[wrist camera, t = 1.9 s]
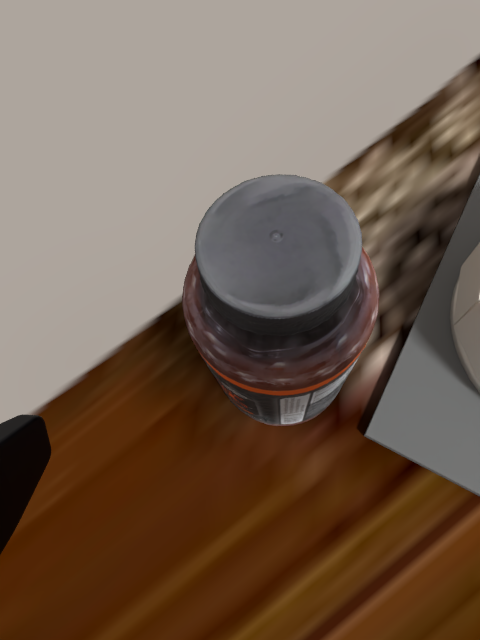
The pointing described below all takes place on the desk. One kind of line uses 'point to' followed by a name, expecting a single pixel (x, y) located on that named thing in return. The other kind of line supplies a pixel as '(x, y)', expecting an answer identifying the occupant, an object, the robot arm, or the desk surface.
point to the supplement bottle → (280, 296)
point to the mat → (436, 378)
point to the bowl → (468, 316)
